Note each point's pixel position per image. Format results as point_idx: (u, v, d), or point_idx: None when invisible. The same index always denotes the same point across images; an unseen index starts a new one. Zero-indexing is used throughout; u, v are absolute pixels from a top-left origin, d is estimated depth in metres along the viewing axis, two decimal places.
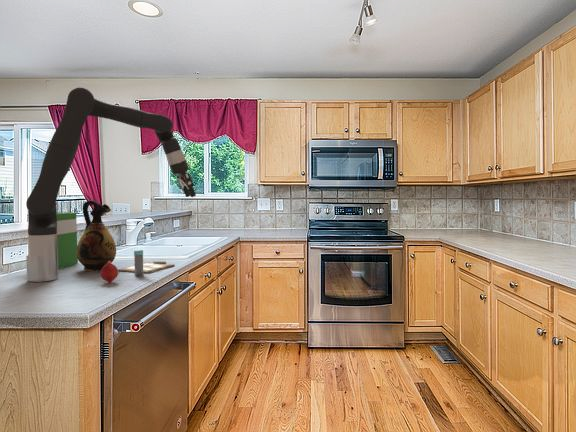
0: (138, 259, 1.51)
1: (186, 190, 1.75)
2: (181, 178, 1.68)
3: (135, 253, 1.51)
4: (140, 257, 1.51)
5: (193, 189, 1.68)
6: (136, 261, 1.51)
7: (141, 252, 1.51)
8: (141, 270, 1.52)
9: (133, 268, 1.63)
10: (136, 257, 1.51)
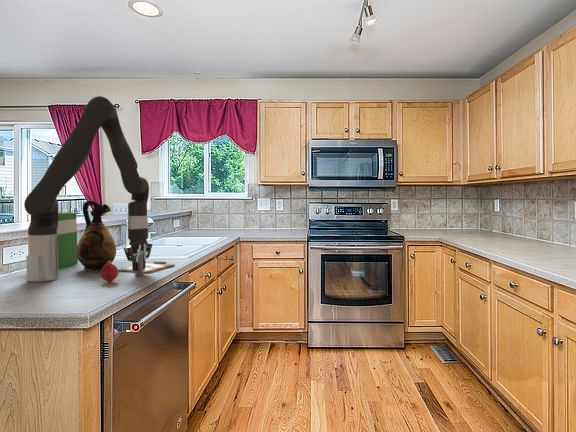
0: (138, 259, 1.51)
1: None
2: None
3: (135, 253, 1.51)
4: (140, 256, 1.51)
5: (137, 264, 1.50)
6: None
7: (141, 252, 1.51)
8: (141, 270, 1.52)
9: None
10: None
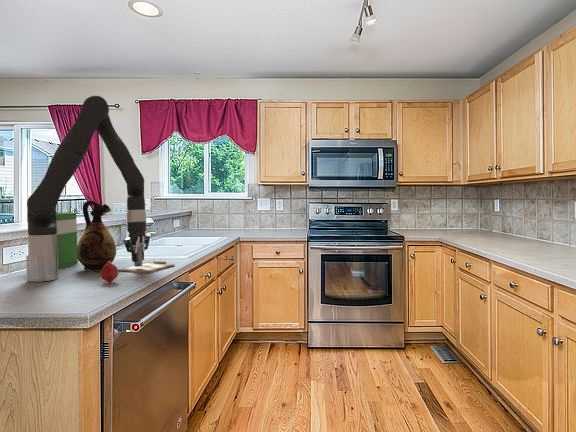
0: (137, 250, 1.60)
1: None
2: None
3: (134, 245, 1.60)
4: (139, 248, 1.60)
5: (136, 255, 1.59)
6: None
7: (140, 244, 1.60)
8: (140, 261, 1.61)
9: (133, 268, 1.63)
10: None
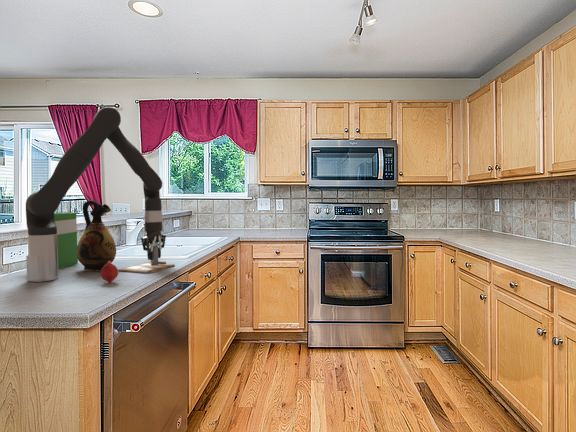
0: (154, 250, 1.69)
1: None
2: None
3: None
4: (155, 248, 1.70)
5: (151, 253, 1.68)
6: None
7: (156, 244, 1.70)
8: (156, 260, 1.70)
9: (133, 268, 1.63)
10: None
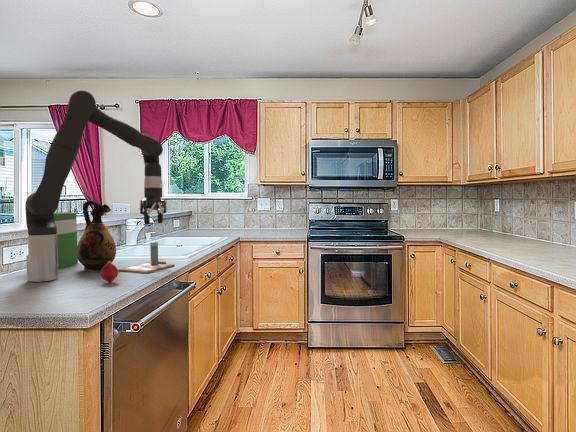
0: (154, 250, 1.69)
1: (159, 216, 1.73)
2: None
3: (151, 244, 1.69)
4: (155, 248, 1.70)
5: (148, 217, 1.65)
6: (152, 252, 1.69)
7: (156, 244, 1.70)
8: (156, 260, 1.70)
9: (133, 268, 1.63)
10: (152, 248, 1.69)
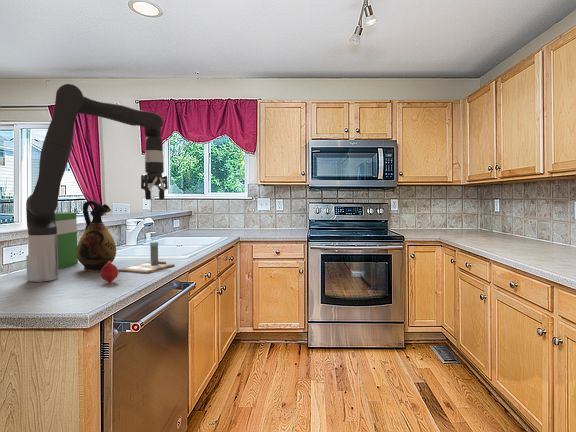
0: (154, 250, 1.69)
1: (161, 192, 1.69)
2: None
3: (151, 244, 1.69)
4: (155, 248, 1.70)
5: (149, 192, 1.60)
6: (152, 252, 1.69)
7: (156, 244, 1.70)
8: (156, 260, 1.70)
9: (133, 268, 1.63)
10: (152, 248, 1.69)
